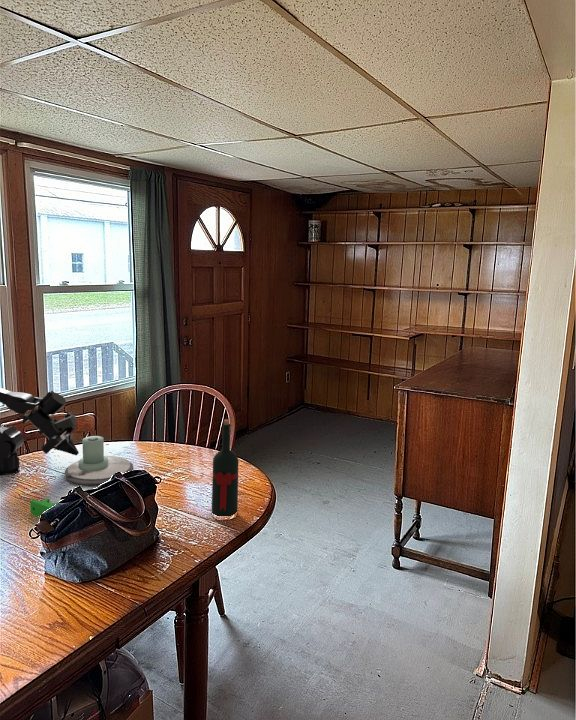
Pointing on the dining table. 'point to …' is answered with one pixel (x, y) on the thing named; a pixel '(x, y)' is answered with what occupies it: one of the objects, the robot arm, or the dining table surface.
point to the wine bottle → (225, 478)
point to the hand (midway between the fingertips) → (77, 454)
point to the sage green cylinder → (93, 454)
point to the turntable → (97, 472)
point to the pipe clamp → (40, 506)
